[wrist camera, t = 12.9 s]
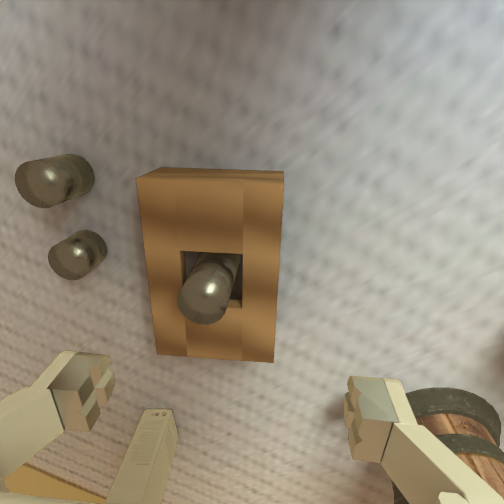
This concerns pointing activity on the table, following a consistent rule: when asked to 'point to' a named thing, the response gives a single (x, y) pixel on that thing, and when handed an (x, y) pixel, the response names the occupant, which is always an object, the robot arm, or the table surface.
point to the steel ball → (77, 255)
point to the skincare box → (146, 460)
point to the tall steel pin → (208, 287)
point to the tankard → (461, 431)
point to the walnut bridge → (213, 240)
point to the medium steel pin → (54, 179)
